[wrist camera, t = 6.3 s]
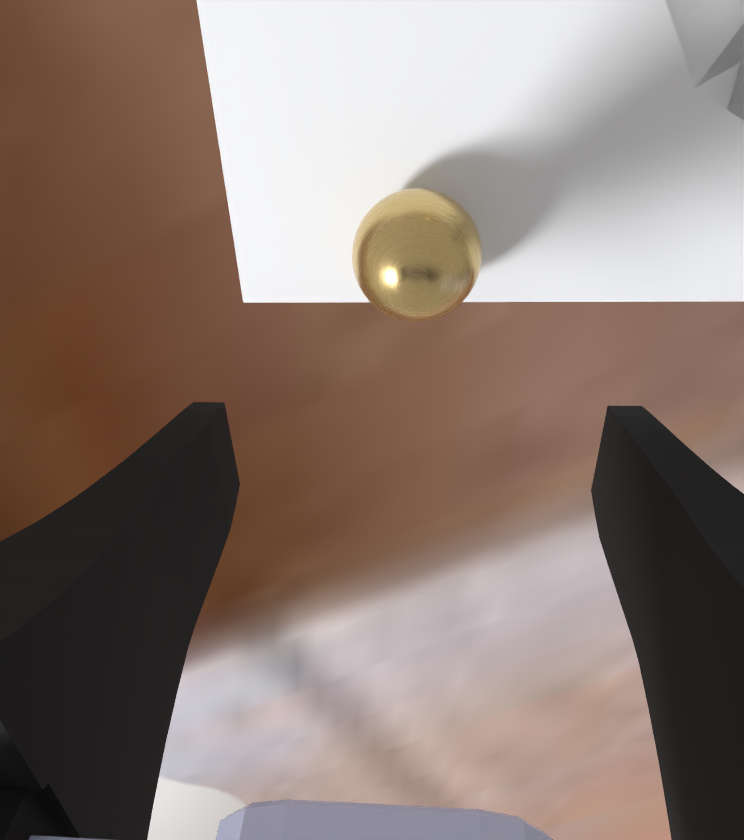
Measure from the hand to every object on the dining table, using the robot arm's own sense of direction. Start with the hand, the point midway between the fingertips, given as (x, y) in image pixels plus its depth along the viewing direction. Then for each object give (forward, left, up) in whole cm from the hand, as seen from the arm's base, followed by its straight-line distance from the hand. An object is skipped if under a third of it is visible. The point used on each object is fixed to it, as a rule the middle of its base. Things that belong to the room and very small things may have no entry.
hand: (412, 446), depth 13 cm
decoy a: (0, -2, -6) cm, 6 cm away
